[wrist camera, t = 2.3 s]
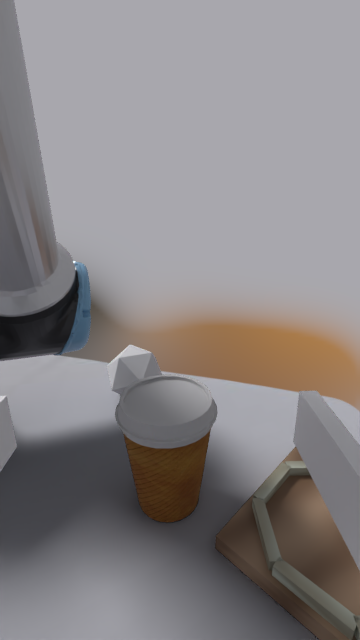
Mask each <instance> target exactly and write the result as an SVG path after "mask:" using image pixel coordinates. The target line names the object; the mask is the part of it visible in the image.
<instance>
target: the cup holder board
mask: <svg viewBox="0 0 360 640" xmlns="http://www.w3.org/2000/svg"><path fill="white" fill-rule="evenodd" d="M215 548H216V549H217V550H218V551H219V552H220V553H221V554H223V555H224V556H225V557H226V558H227V559H228V560H229V561H231V562H232V563H233V564H234V565H235V566H236V567H237V568H239V569H240V570H241V571H242V572H243V573H244V574H245V575H247V576H248V577H249V578H250V579H251V580H252V581H253V582H255V583H256V584H257V585H258V586H259V587H260V588H261V589H263V590H264V591H265V592H266V593H267V594H268V595H269V596H271V597H272V598H273V599H274V600H275V601H276V602H277V603H279V604H280V605H281V606H282V607H283V608H284V609H285V610H287V611H288V612H289V613H290V614H291V615H292V616H293V617H295V618H296V619H297V620H298V621H299V622H300V623H301V624H303V625H304V626H305V627H306V628H307V629H308V630H309V631H311V632H312V633H313V634H314V635H315V636H316V637H317V638H319V639H320V640H360V570H359V569H358V567H357V565H356V563H355V561H354V559H353V557H352V555H351V553H350V551H349V549H348V547H347V545H346V543H345V541H344V539H343V537H342V535H341V533H340V531H339V530H338V528H337V526H336V524H335V522H334V520H333V518H332V516H331V514H330V512H329V510H328V508H327V506H326V504H325V502H324V500H323V498H322V496H321V494H320V493H319V491H318V489H317V487H316V485H315V483H314V481H313V479H312V477H311V475H310V473H309V471H308V469H307V467H306V465H305V463H304V461H303V459H302V457H301V455H300V454H299V452H298V450H297V448H296V447H295V448H294V449H293V450H292V451H291V452H290V454H289V455H288V456H287V457H286V458H285V459H284V460H283V461H282V462H281V464H280V465H279V466H278V467H277V468H276V469H275V470H274V471H273V473H272V474H271V475H270V476H269V477H268V478H267V479H266V480H265V481H264V483H263V484H262V485H261V486H260V487H259V488H258V489H257V490H256V492H255V493H254V494H253V495H252V496H251V497H250V498H249V499H248V500H247V502H246V503H245V504H244V505H243V506H242V507H241V508H240V509H239V511H238V512H237V513H236V514H235V515H234V516H233V517H232V518H231V519H230V521H229V522H228V523H227V524H226V525H225V526H224V527H223V528H222V530H221V531H220V532H219V533H218V534H217V535H216V544H215Z"/></svg>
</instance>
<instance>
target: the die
mask: <svg viewBox="0 0 360 640" xmlns="http://www.w3.org/2000/svg"><path fill="white" fill-rule="evenodd" d="M107 370H108V375H109V379H110V384H111V389H112V391H114V392H116V393H118V394H122V393H123V392H124V390H125V389H126V388H127V387H128V386H130V385H131V384H132V383H134V382H136V381H138V380H140V379H143V378H146V377H150V376H155V375H162V374H161V371H160V369H159V366H158V363H157V360H156V358H155V357H154V355H153V353H151V352H149V351H146V350H143V349H141V348H138V347H136V346H133V345H129V346H128V347H127V348H126V349H125V350H124V351H122V352H121V353H120V354H119V355H118V356H117V357H116V358H115V359H114V360H113V361H112V362H110V363H109V364H108V365H107Z"/></svg>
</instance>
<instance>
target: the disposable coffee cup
mask: <svg viewBox="0 0 360 640" xmlns="http://www.w3.org/2000/svg"><path fill="white" fill-rule="evenodd" d="M115 417H116V421H117V424H118V426H119V427H120V428H121V430H122V432H123V433H124V438H125V443H126V447H127V452H128V454H129V455H128V456H129V459H130V464H131V469H132V473H133V478H134V482H135V486H136V490H137V495H138V497H139V498H138V499H139V504H140V506H141V509H142V510H143V512H144V513H145V514H146V515H147V516H148V517H150V518H152V519H153V520H156V521H159V522H175V521H179V520H181V519H183V518H186V517H187V516H188V515H190V514H191V513H192V512H193V511H194V509H195V507H196V506H197V503H198V499H199V492H200V487H201V481H202V476H203V470H204V464H205V458H206V453H207V447H208V442H209V436H210V430H211V427H212V426H213V424H214V422H215V420H216V417H217V406H216V404H215V402H214V400H213V398H212V395H211V392H210V390H209V389H208V388H207V387H206V385H204V384H203V383H201V382H199V381H198V380H195V379H193V378H190V377H187V376H181V375H172V374H168V375H155V376H150V377H146V378H143V379H140V380H138V381H136V382H134V383H132V384H131V385H130V386H128V387H127V388H126V389H125V390H124V392H123V393H122V394H121V397H120V401H119V404H118V405H117V407H116V412H115Z"/></svg>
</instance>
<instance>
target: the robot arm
mask: <svg viewBox="0 0 360 640" xmlns="http://www.w3.org/2000/svg"><path fill="white" fill-rule="evenodd" d="M90 306H91V298H90V284H89V277H88V272H87V268H86V266H84V264H82V263H79V262H76V261H73V259H72V257H71V255H70V253H69V252H68V251H67V250H66V249H65V248H64V247H63V246H62V245H61V244H59V243H58V242H56V237H55V232H54V225H53V220H52V214H51V209H50V203H49V197H48V191H47V186H46V180H45V175H44V169H43V163H42V157H41V151H40V146H39V140H38V135H37V129H36V123H35V118H34V112H33V106H32V100H31V95H30V89H29V83H28V78H27V72H26V66H25V60H24V55H23V50H22V43H21V38H20V32H19V26H18V21H17V15H16V9H15V4H14V0H0V361H5V360H13V359H21V358H28V357H36V356H44V355H52V354H53V355H61V354H63V353H65V352H71V351H76V350H80V349H81V348H83V347H84V346H85V345H86V343H87V341H88V338H89V333H90V323H91V321H90V320H91V316H90ZM293 442H294V444H295V446H296V448H297V450H298V452H299V454H300V455H301V457H302V459H303V461H304V463H305V465H306V467H307V469H308V471H309V473H310V475H311V477H312V479H313V481H314V483H315V485H316V487H317V489H318V491H319V493H320V494H321V496H322V498H323V500H324V502H325V504H326V506H327V508H328V510H329V512H330V514H331V516H332V518H333V520H334V522H335V524H336V526H337V528H338V530H339V531H340V533H341V535H342V537H343V539H344V541H345V543H346V545H347V547H348V549H349V551H350V553H351V555H352V557H353V559H354V561H355V563H356V565H357V567H358V569H359V570H360V445H359V444H358V443H357V441H356V440H355V439H354V438H353V436H352V435H351V434H350V432H349V431H348V430H347V429H346V427H345V426H344V425H343V424H342V422H341V421H340V420H339V418H338V417H337V416H336V415H335V413H334V412H333V411H332V410H331V408H330V407H329V406H328V405H327V403H326V402H325V401H324V399H323V398H322V397H321V396H320V394H319V393H318V392H317V391H300V393H299V401H298V409H297V417H296V425H295V433H294V441H293ZM16 448H17V443H16V439H15V434H14V429H13V424H12V420H11V415H10V410H9V405H8V401H7V396H0V471H1V470H2V469H3V467H4V466H5V464H6V463H7V461H8V460H9V458H10V457H11V455H12V454H13V452H14V451H15V449H16Z"/></svg>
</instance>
